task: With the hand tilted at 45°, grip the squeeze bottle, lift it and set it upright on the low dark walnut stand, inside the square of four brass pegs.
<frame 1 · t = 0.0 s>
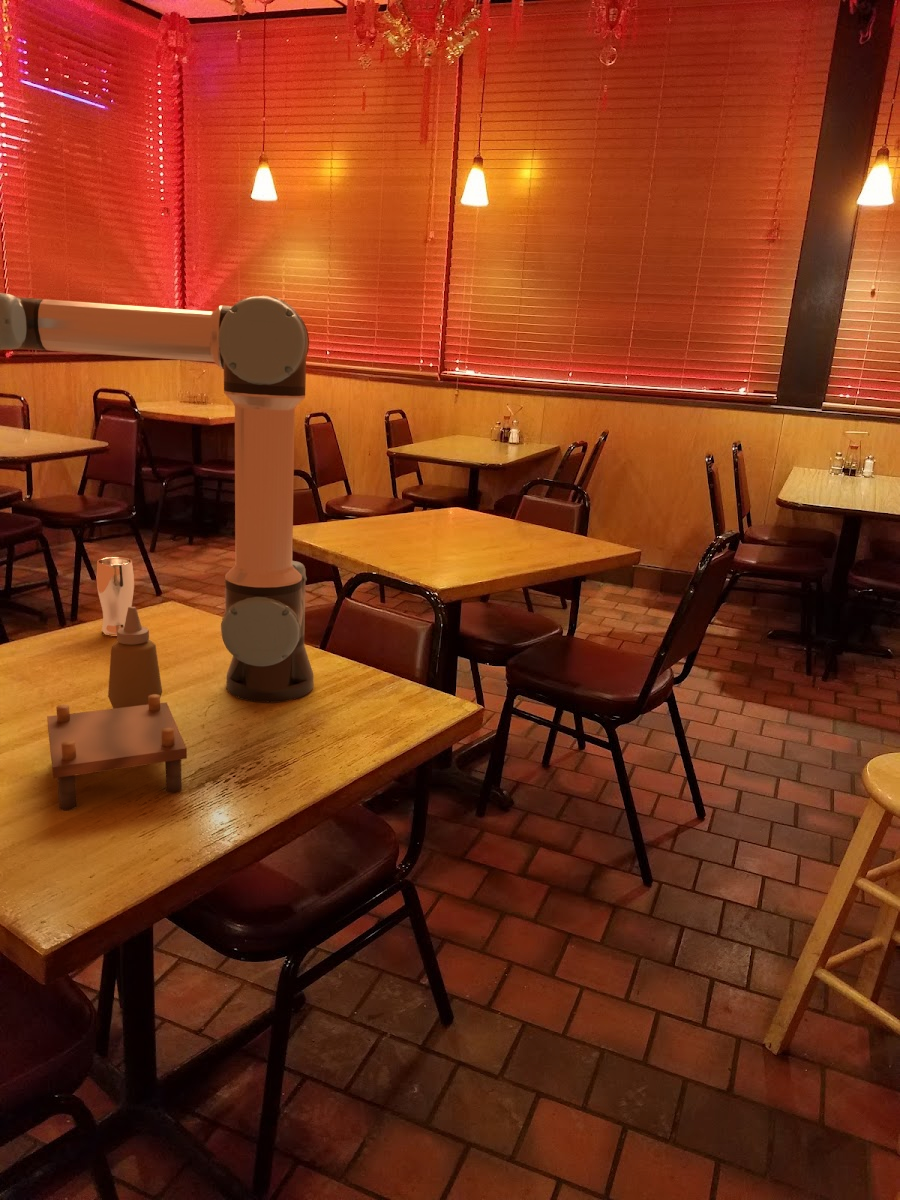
beer glass: (117, 632, 171), on the table
walnut stand: (116, 775, 115), on the table
squeeze bottle: (136, 716, 134), on the table
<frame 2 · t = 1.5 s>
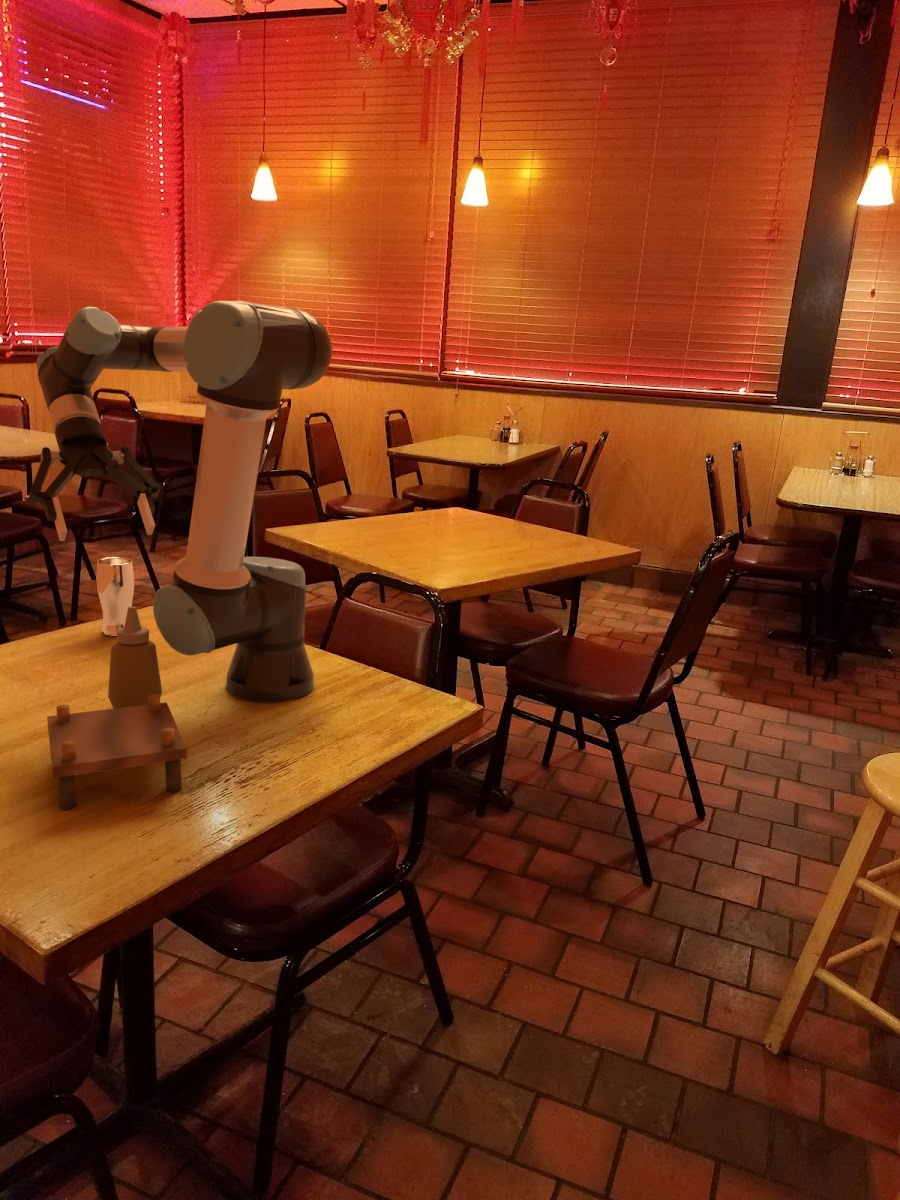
hand: (108, 533, 134), 28 cm above the table, tool tilted 45°, fingers open, 13 cm apart
nothing on the table moved.
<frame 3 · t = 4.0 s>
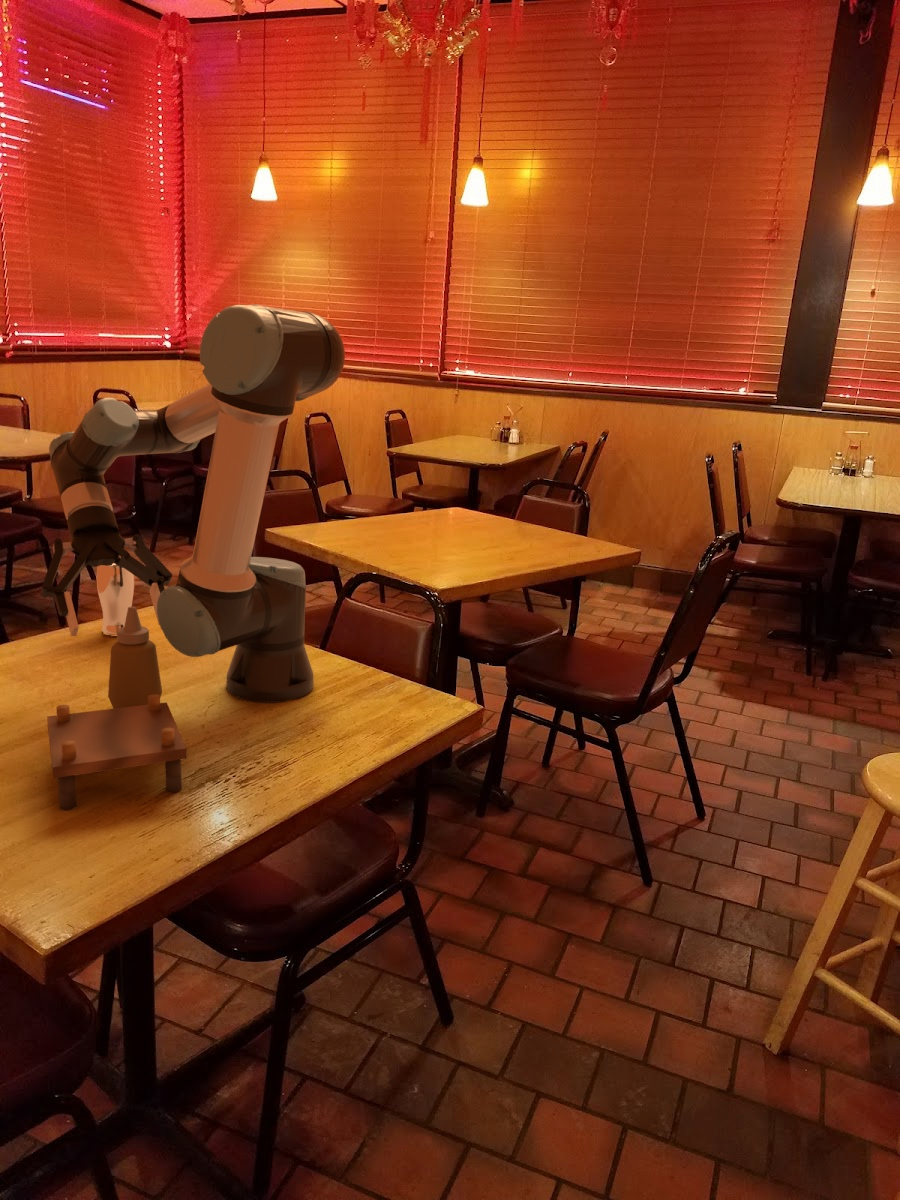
hand: (120, 626, 134), 14 cm above the table, tool tilted 45°, fingers open, 13 cm apart
nothing on the table moved.
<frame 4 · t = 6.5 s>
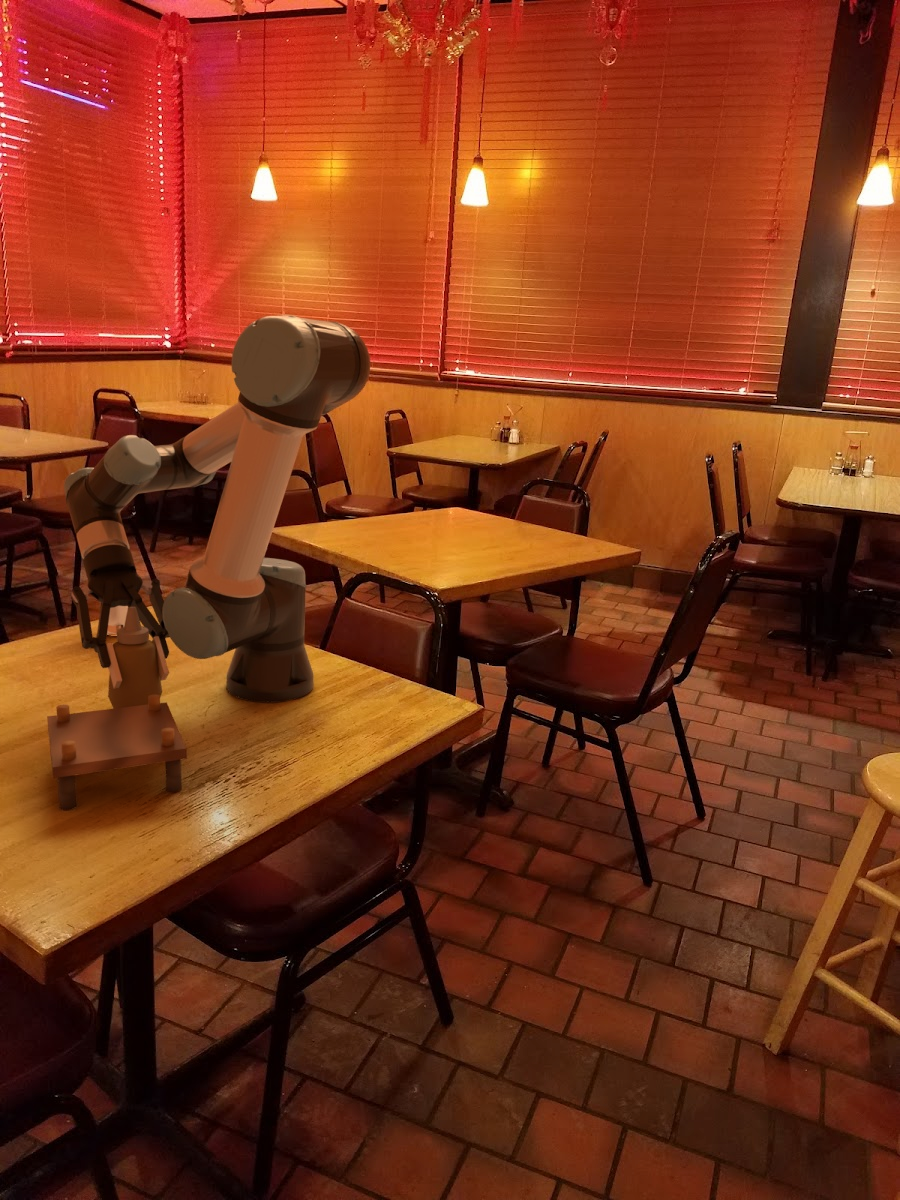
hand: (141, 680, 129), 7 cm above the table, tool tilted 45°, fingers closed on squeeze bottle, 6 cm apart
squeeze bottle: (136, 716, 134), on the table, touching gripper
everything else where it was.
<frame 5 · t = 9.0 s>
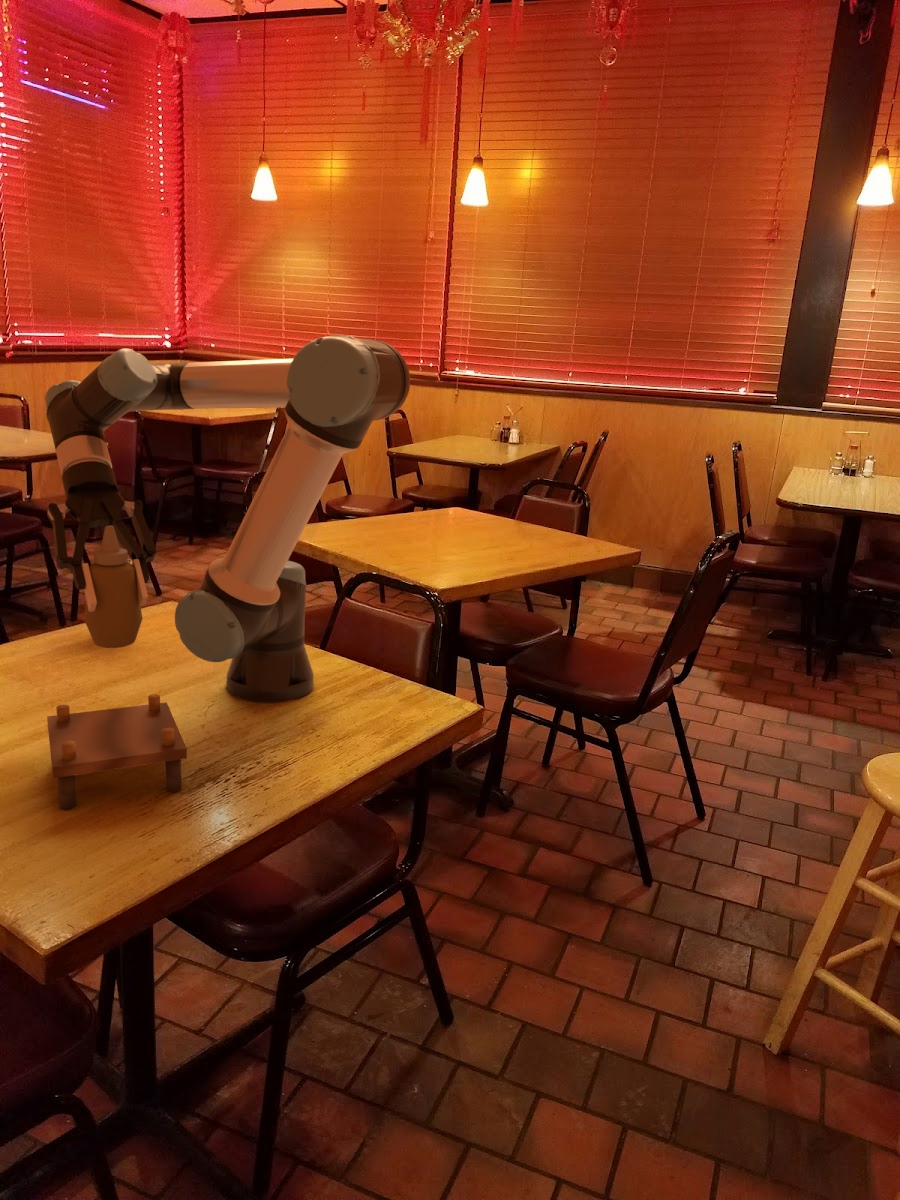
hand: (118, 604, 122), 21 cm above the table, tool tilted 45°, fingers closed on squeeze bottle, 6 cm apart
squeeze bottle: (115, 643, 127), point 13 cm above the table, touching gripper
everything else where it was.
when the fingers open (15 cm above the table, at t = 11.9 s): squeeze bottle drops 1 cm, resting on walnut stand.
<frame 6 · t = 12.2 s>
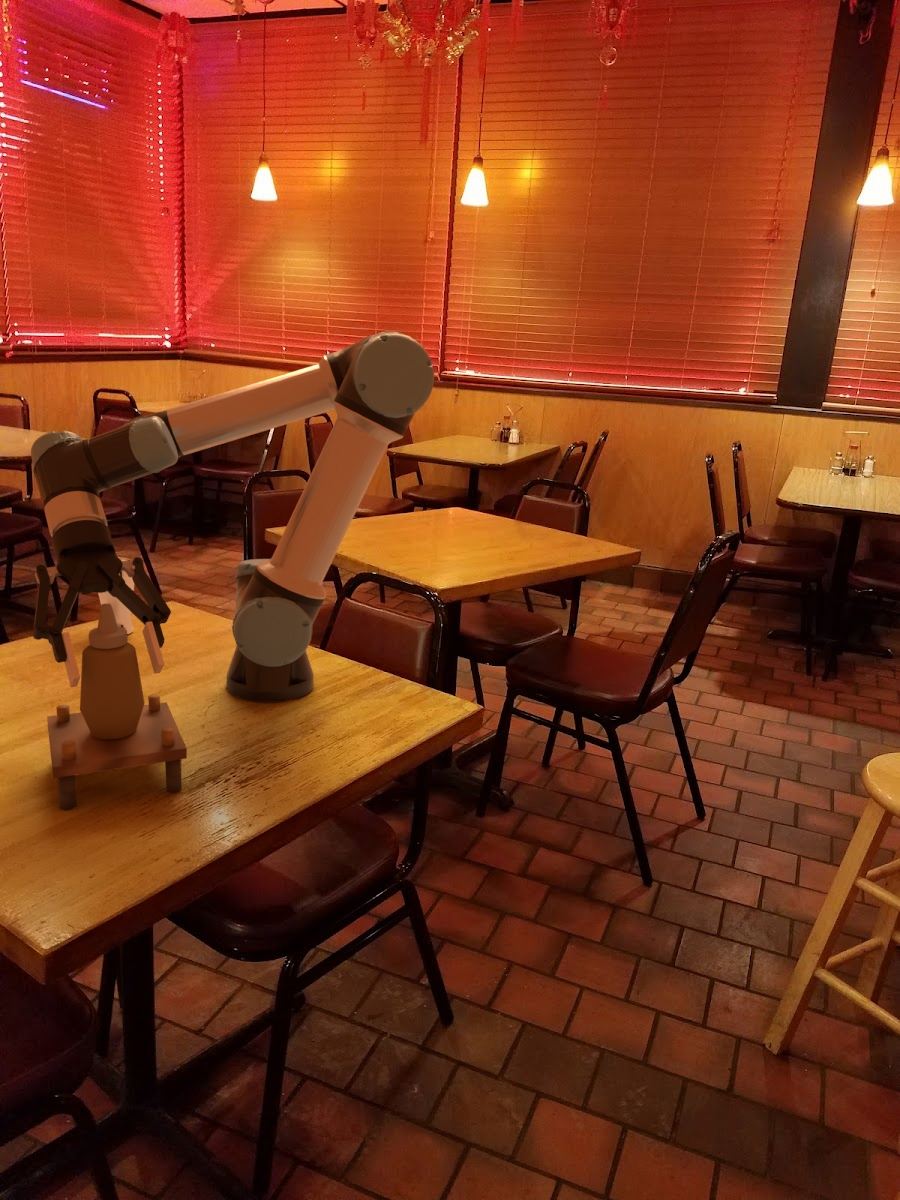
hand: (118, 675, 109), 16 cm above the table, tool tilted 45°, fingers open, 10 cm apart
squeeze bottle: (114, 732, 114), point 6 cm above the table, touching walnut stand
everything else where it was.
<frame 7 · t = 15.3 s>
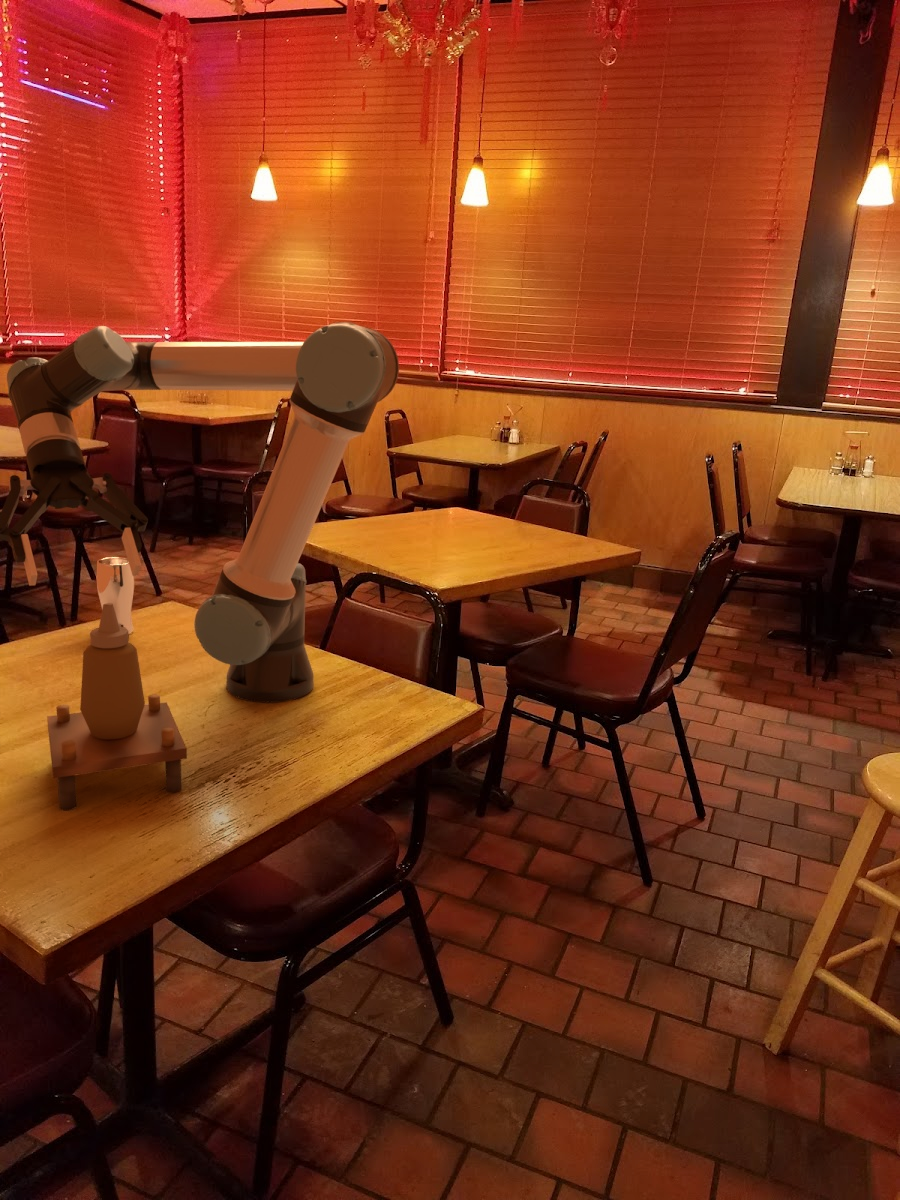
hand: (87, 575, 116), 26 cm above the table, tool tilted 45°, fingers open, 13 cm apart
nothing on the table moved.
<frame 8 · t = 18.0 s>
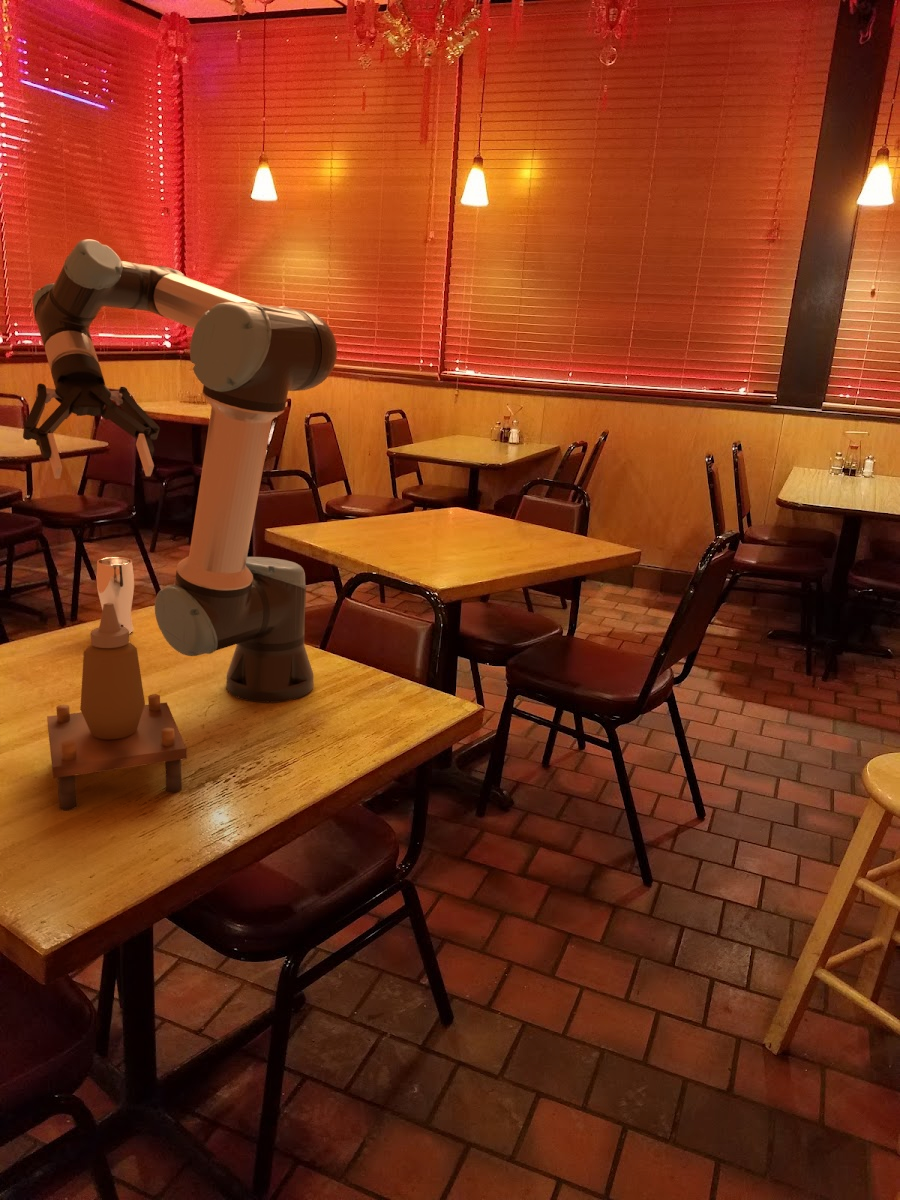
hand: (105, 472, 130), 38 cm above the table, tool tilted 45°, fingers open, 13 cm apart
nothing on the table moved.
at the end: squeeze bottle 0.1 cm off-centre on the walnut stand, point 6.3 cm above the walnut stand's base; squeeze bottle tilted 0°; the gripper is holding nothing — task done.
